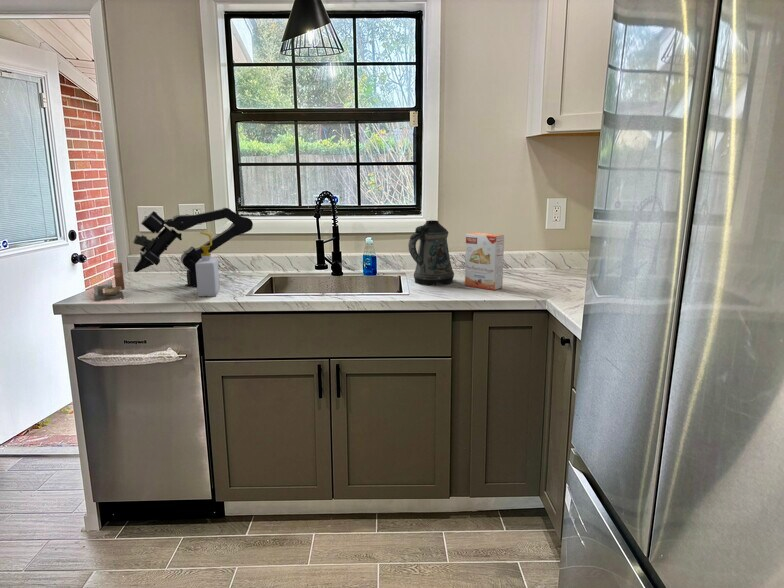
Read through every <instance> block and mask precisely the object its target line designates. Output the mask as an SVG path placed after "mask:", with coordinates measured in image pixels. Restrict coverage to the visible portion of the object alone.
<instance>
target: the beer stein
mask: <svg viewBox="0 0 784 588" xmlns="http://www.w3.org/2000/svg"><path fill="white" fill-rule="evenodd" d="M448 236H449V231H448V230H447V229H446V228H445V227H444V226H443V225H441V223H440V222H439V221H438V220H434V219H433V220H432V219H431V220H426V221H425V223H424V224H423V225H420V226H417V227H416V228H415V231H414V233H413V234H412V235H410V237H409V240H408V246H407V247H408V251H409V254H410V256H411V258H412V259H413V261H414V262H415V263H416V264H415V265H416V266H415V269H414V272H413V279H414V283H415V284H418V285H422V286H427V287H428V286H431V287H432V286H433V287H434V286H435V287H436V286H437V287H438V286H446V285H451V284H452V283H454V276H455V273H454V269H453V266H452V263H451V258H450V253H449V252H450V251H449V244H448ZM418 241H419V243H418V249H417V246H416V245H417V242H418Z"/></svg>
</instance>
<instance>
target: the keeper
mask: <svg viewBox="0 0 784 588" xmlns="http://www.w3.org/2000/svg"><path fill="white" fill-rule="evenodd" d="M112 281H113V280H107V281H106V282H107V283H104V284H98V285H94V286H93V292H94V294H95V295H96V296H100V295H103V293H104V292H103V290H105V289H106V288H112V287H113V282H112Z"/></svg>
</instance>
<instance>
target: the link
mask: <svg viewBox="0 0 784 588" xmlns="http://www.w3.org/2000/svg"><path fill="white" fill-rule="evenodd" d="M112 267H113V276H114V282H115V286H114V287H113V286H112V288H105V289H104V293H106V295H115V294H116V293H117V292H119V291H124V290H125V288H126V287H125V279H124V272H123V263H122V262H113V263H112Z"/></svg>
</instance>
